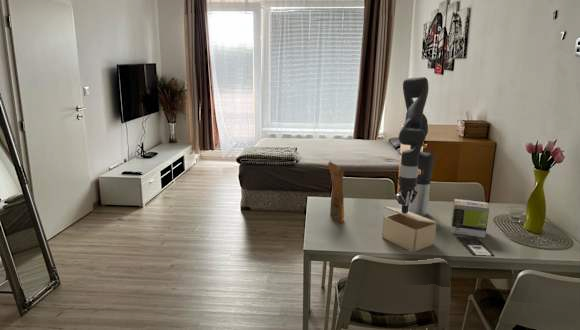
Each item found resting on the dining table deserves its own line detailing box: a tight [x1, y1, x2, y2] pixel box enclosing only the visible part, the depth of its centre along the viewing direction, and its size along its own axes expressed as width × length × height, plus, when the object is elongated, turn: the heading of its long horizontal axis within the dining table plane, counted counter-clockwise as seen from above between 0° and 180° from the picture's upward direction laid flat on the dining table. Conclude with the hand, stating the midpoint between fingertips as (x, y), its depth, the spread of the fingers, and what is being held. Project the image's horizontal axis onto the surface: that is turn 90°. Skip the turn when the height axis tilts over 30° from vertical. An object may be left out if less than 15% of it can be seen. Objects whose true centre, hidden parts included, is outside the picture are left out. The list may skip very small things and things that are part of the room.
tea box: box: [450, 198, 490, 239], centre depth 202 cm, size 15×10×15 cm, turn 71°
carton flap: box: [383, 205, 438, 224], centre depth 189 cm, size 14×19×1 cm
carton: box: [381, 212, 438, 253], centre depth 191 cm, size 14×18×10 cm
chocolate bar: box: [456, 236, 495, 257], centre depth 189 cm, size 9×1×18 cm
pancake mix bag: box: [327, 160, 345, 224], centre depth 214 cm, size 7×19×28 cm, turn 8°
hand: (404, 212), depth 186 cm, fingers closed
